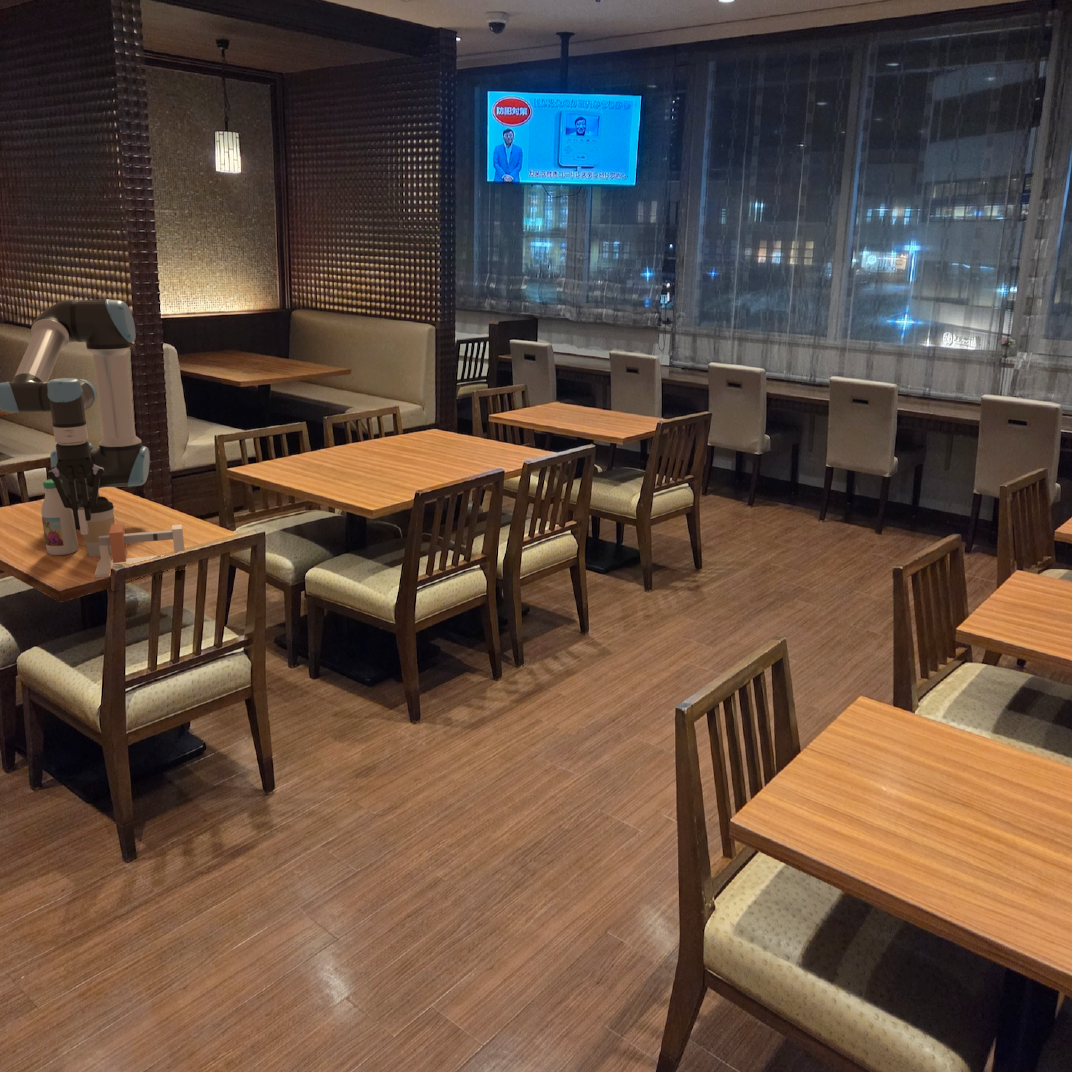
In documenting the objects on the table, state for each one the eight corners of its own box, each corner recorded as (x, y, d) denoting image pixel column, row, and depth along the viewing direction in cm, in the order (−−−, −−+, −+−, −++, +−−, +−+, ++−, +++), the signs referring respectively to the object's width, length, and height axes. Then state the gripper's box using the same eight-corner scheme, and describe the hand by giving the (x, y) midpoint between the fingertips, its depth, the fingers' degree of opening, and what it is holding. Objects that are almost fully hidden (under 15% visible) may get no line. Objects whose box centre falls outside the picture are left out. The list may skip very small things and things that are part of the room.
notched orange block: (115, 553, 251) (111, 524, 249) (127, 552, 252) (123, 523, 250) (113, 563, 244) (109, 533, 242) (125, 561, 245) (122, 532, 243)
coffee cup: (106, 559, 256) (98, 505, 251) (76, 556, 257) (68, 503, 253) (126, 548, 264) (119, 496, 259) (97, 546, 266) (90, 494, 261)
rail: (98, 563, 252) (93, 527, 249) (187, 555, 259) (183, 520, 256) (94, 577, 242) (89, 540, 239) (186, 569, 249) (183, 532, 246)
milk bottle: (70, 545, 266) (60, 475, 260) (83, 551, 262) (73, 480, 256) (42, 551, 261) (30, 480, 254) (55, 558, 256) (44, 486, 250)
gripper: (40, 446, 231) (54, 539, 238) (99, 443, 235) (111, 535, 242) (44, 440, 238) (58, 531, 245) (102, 437, 242) (113, 526, 249)
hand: (84, 532), depth 243 cm, fingers closed
